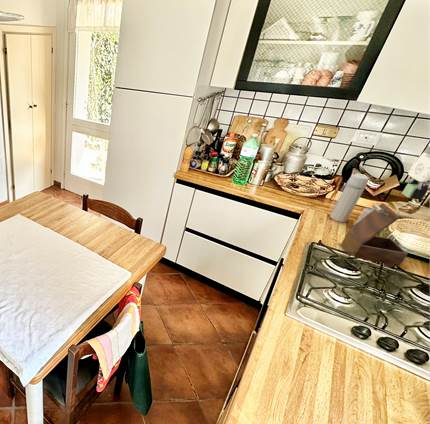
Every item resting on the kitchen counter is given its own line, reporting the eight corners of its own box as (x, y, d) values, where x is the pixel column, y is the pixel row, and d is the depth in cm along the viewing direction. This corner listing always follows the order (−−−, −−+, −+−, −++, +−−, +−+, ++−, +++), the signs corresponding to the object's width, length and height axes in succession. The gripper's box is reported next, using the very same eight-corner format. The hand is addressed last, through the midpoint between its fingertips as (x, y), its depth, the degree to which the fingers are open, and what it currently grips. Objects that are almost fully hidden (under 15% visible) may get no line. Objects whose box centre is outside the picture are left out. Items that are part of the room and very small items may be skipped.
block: (401, 193, 125) (407, 183, 123) (415, 195, 124) (421, 185, 122) (407, 197, 122) (414, 187, 120) (422, 199, 120) (428, 189, 118)
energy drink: (365, 229, 157) (377, 209, 151) (367, 234, 153) (380, 213, 147) (351, 226, 159) (363, 206, 154) (353, 231, 155) (365, 210, 150)
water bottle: (346, 219, 166) (370, 176, 154) (345, 224, 161) (370, 180, 149) (325, 213, 172) (347, 171, 160) (324, 218, 167) (345, 175, 155)
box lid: (384, 203, 131) (373, 197, 131) (401, 217, 120) (388, 210, 121) (349, 230, 140) (339, 225, 140) (362, 245, 130) (351, 239, 130)
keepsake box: (382, 252, 139) (391, 238, 135) (397, 269, 129) (408, 254, 125) (340, 245, 144) (348, 231, 140) (351, 260, 134) (360, 245, 130)
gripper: (413, 145, 122) (388, 186, 131) (441, 157, 108) (411, 203, 117) (438, 147, 120) (411, 189, 128) (470, 160, 106) (437, 206, 115)
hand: (412, 195), depth 123 cm, fingers closed on block, 4 cm apart
